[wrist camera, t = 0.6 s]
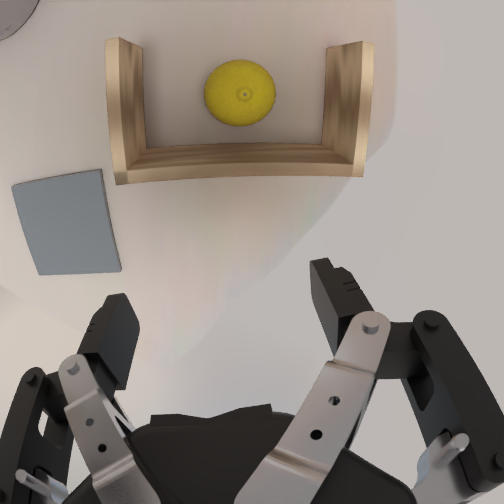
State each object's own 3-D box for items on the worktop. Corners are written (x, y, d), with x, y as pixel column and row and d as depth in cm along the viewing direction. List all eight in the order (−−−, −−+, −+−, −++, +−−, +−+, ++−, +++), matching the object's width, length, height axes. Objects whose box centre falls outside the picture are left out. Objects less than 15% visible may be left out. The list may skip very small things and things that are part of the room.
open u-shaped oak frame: (131, 49, 21) (105, 39, 14) (336, 50, 23) (374, 43, 16) (137, 159, 26) (115, 185, 20) (329, 154, 29) (362, 177, 22)
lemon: (192, 95, 24) (185, 98, 17) (234, 52, 22) (243, 39, 15) (237, 132, 26) (246, 149, 20) (278, 91, 25) (302, 94, 18)
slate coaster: (13, 185, 25) (11, 187, 24) (101, 169, 26) (99, 171, 26) (41, 272, 31) (39, 275, 31) (121, 269, 32) (120, 272, 32)
